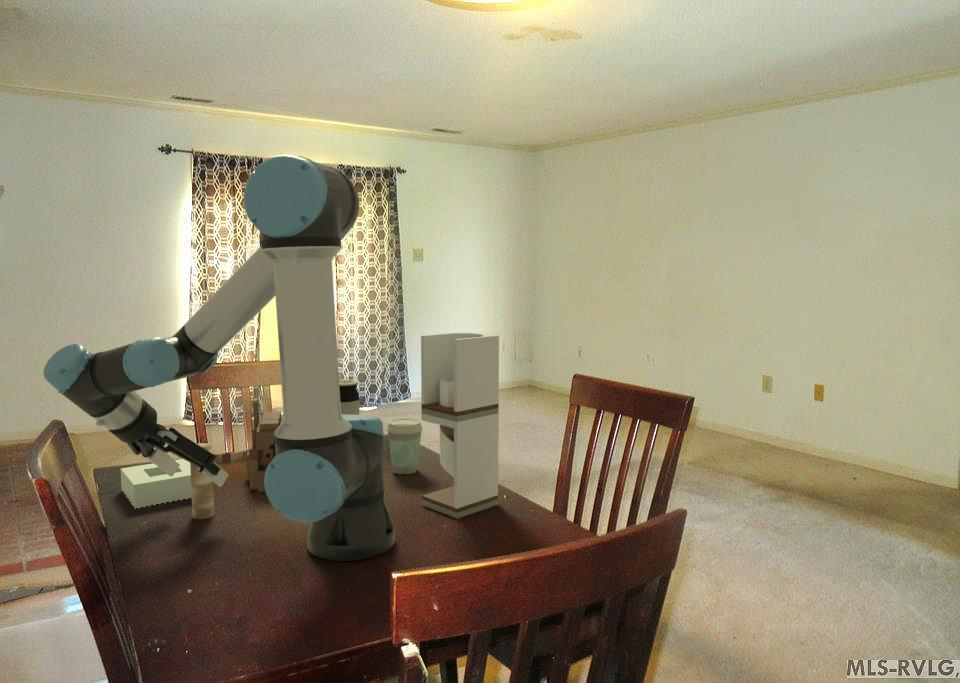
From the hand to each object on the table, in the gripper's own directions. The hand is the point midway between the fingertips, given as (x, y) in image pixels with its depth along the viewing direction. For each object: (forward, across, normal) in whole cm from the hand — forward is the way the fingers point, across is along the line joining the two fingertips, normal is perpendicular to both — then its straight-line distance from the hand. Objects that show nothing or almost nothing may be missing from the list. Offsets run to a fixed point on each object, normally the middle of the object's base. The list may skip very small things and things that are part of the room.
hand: (198, 475), depth 136 cm
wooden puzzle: (+25, -4, +13) cm, 28 cm away
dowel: (+6, +1, -6) cm, 8 cm away
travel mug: (+44, -7, +32) cm, 55 cm away
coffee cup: (+36, +19, +25) cm, 48 cm away
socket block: (+10, -18, -2) cm, 20 cm away
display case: (+26, +42, +15) cm, 52 cm away
